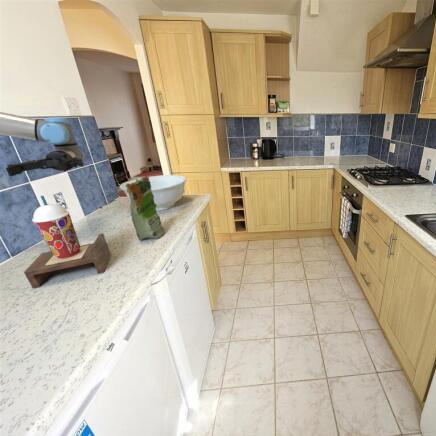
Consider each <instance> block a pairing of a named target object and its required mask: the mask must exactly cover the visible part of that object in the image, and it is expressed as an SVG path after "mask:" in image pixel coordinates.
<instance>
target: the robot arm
mask: <svg viewBox="0 0 436 436" xmlns="http://www.w3.org/2000/svg"><path fill="white" fill-rule="evenodd" d="M0 136H8V137H14V138H21V139H26V140H33V141H38V142H44V143H47V144H51V145H53V147H54V150H53V151H50V152H48V153H47V154H46V155H45V157H44V158H40V159H32V160H28V161H23V162H18V163H11V164H7V167H5V170H6V172H7V174H8V176H9V177H15V176H17V175H22V174H23V173H24V172H28V171H34V170H47V169H52V170H55V171H58V172H68V171H69V170H72V169H73V168H78V167H82V168H83V167H84V166H85V165H84V162H83V161H84V159H85V153H84V152H83V150H82V149H81V148H80V147H79V145H78V143H77V140H76V137H75V135H74V133H73V129H72V125H71V124H70V121H69V119H68V118H67V117H45V118H44V119H43V120H42V119H37V118H32V117H27V116H22V115H17V114H14V113H8V112H2V111H0Z"/></svg>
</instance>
